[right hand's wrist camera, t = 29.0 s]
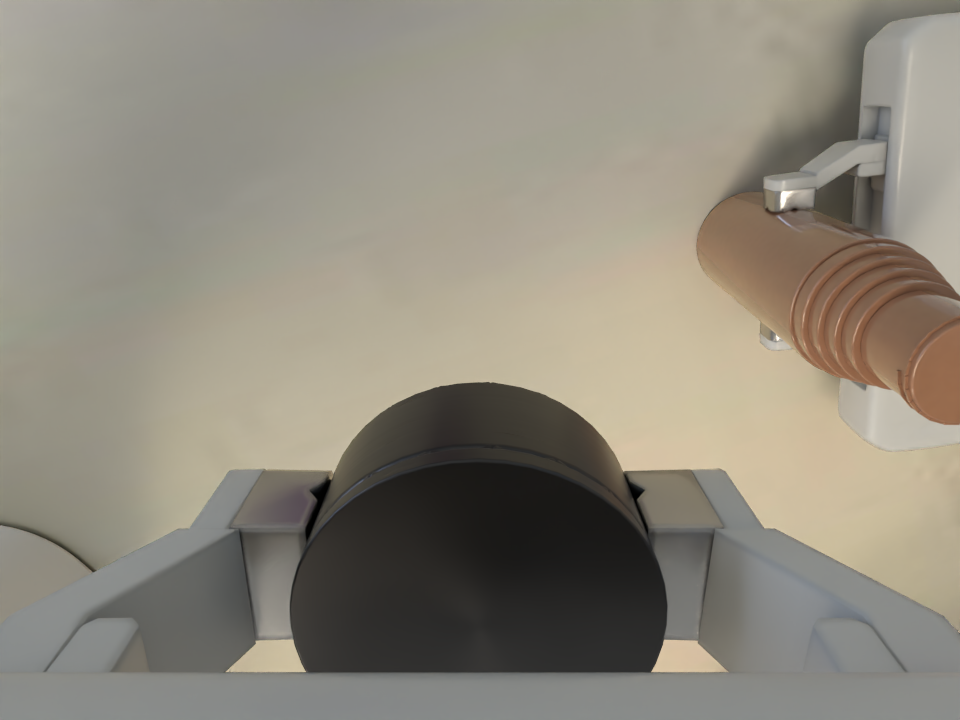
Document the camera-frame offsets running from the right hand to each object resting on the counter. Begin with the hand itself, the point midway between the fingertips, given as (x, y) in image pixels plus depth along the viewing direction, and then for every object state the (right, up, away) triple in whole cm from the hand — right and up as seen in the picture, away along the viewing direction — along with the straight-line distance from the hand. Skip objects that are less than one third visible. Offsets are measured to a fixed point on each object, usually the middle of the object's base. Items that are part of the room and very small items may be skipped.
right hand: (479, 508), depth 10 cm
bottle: (+15, +9, +27) cm, 32 cm away
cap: (0, -1, -2) cm, 2 cm away
